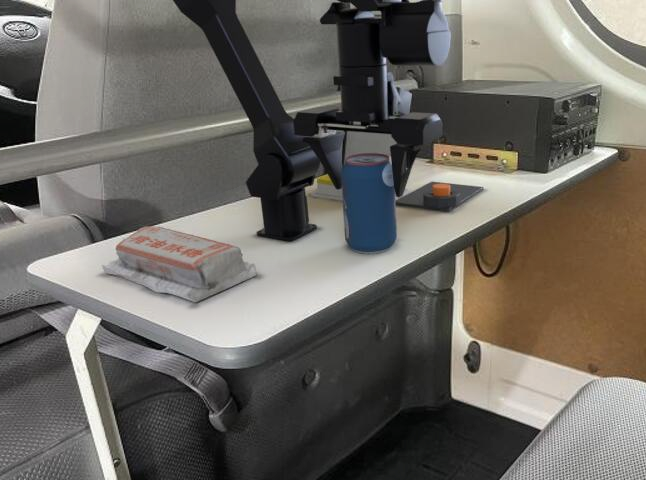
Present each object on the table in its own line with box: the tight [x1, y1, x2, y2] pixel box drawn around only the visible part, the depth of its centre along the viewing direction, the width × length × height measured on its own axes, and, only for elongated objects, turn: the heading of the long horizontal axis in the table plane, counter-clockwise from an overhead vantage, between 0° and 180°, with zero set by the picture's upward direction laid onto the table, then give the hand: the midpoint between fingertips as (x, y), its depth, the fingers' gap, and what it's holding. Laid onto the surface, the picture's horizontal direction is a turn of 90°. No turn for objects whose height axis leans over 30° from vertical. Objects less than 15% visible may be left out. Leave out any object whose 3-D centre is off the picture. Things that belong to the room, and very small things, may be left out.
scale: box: [395, 181, 485, 213], centre depth 104 cm, size 14×10×2 cm
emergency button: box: [310, 173, 409, 202], centre depth 108 cm, size 9×4×15 cm
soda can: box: [341, 152, 398, 255], centre depth 82 cm, size 7×7×12 cm
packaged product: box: [101, 225, 257, 303], centre depth 77 cm, size 18×5×10 cm
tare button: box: [433, 184, 450, 196], centre depth 99 cm, size 3×3×2 cm
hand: (368, 192), depth 82 cm, fingers open, 9 cm apart
